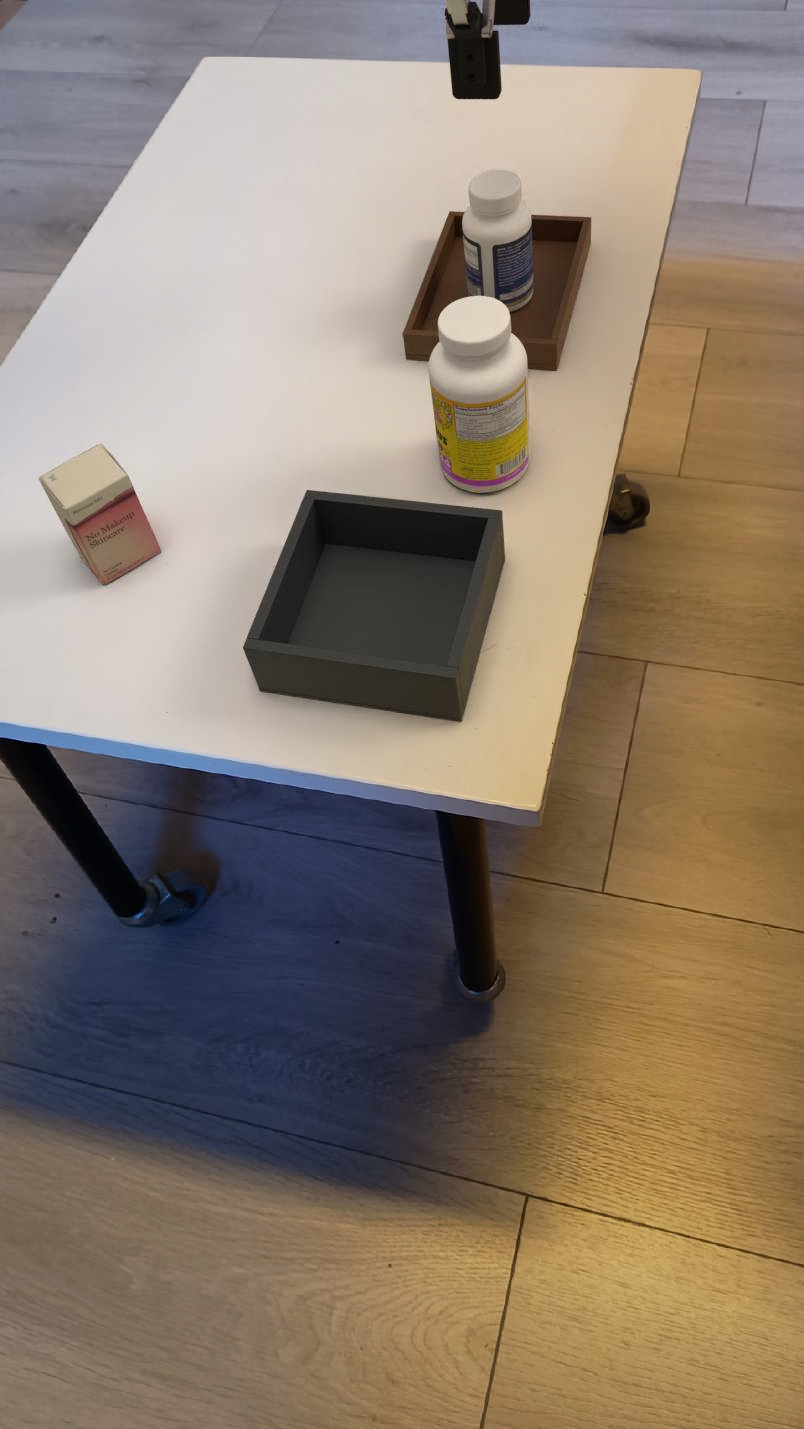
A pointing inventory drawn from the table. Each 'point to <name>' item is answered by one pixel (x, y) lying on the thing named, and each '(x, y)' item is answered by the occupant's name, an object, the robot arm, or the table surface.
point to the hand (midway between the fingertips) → (492, 58)
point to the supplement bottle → (480, 396)
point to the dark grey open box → (379, 604)
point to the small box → (101, 513)
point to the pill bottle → (498, 239)
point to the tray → (535, 324)
